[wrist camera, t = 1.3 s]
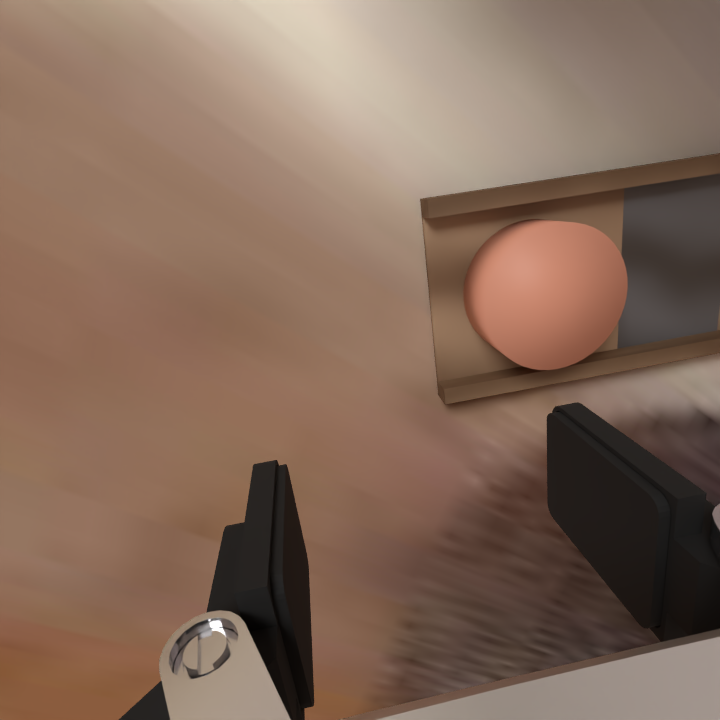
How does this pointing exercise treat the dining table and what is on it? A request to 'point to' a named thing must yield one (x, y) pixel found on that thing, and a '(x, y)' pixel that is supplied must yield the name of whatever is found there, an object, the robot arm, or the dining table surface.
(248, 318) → the dining table surface
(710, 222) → the trap lane
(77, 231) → the dining table surface
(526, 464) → the dining table surface
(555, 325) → the salmon rounded disc
